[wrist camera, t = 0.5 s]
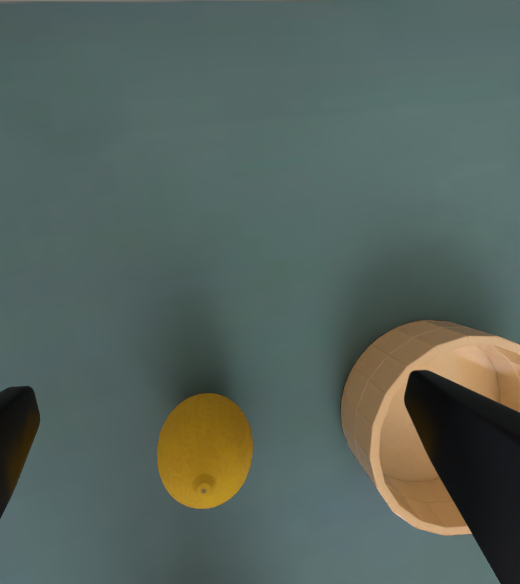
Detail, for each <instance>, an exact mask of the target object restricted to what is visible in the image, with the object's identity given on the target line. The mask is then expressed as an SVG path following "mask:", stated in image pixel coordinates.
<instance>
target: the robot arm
mask: <svg viewBox="0 0 520 584" xmlns="http://www.w3.org/2000/svg"><path fill="white" fill-rule="evenodd" d="M404 404H405V407H406V409H407V411H408V414H409V416H410V418H411V420H412V422H413V425H414V427H415V429H416V431H417V433H418V436H419V438H420V440H421V442H422V444H423V447H424V449H425V451H426V453H427V455H428V457H429V459H430V461H431V463H432V465H433V467H434V469H435V470H436V472H437V474H438V476H439V477H440V479H441V481H442V483H443V484H444V486H445V488H446V490H447V491H448V493H449V495H450V497H451V498H452V500H453V502H454V503H455V505H456V507H457V509H458V510H459V512H460V514H461V516H462V517H463V519H464V521H465V523H466V524H467V526H468V528H469V530H470V531H471V533H472V535H473V536H474V538H475V540H476V542H477V543H478V545H479V547H480V549H481V550H482V552H483V554H484V556H485V557H486V559H487V561H488V563H489V564H490V566H491V568H492V569H493V571H494V573H495V575H496V576H497V578H498V580H499V582H500V583H501V584H520V412H518V411H516V410H513V409H511V408H509V407H507V406H505V405H503V404H500V403H498V402H496V401H494V400H492V399H490V398H488V397H485V396H483V395H481V394H479V393H477V392H475V391H472V390H470V389H468V388H466V387H464V386H462V385H460V384H457V383H455V382H453V381H451V380H449V379H447V378H444V377H442V376H440V375H438V374H436V373H434V372H431V371H429V370H413V371H412V372H411V373H410V374H409V377H408V381H407V386H406V390H405V394H404ZM39 424H40V414H39V409H38V405H37V401H36V397H35V393H34V390H33V389H32V388H31V387H29V386H19V387H9V388H7V389H5V390H3V391H1V392H0V518H1V516H2V514H3V512H4V510H5V508H6V506H7V504H8V502H9V500H10V498H11V496H12V494H13V491H14V489H15V487H16V484H17V482H18V479H19V477H20V474H21V471H22V469H23V466H24V464H25V461H26V458H27V456H28V453H29V451H30V448H31V446H32V443H33V440H34V438H35V435H36V433H37V430H38V427H39Z"/></svg>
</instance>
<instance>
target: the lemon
mask: <svg viewBox="0 0 520 584" xmlns="http://www.w3.org/2000/svg"><path fill="white" fill-rule="evenodd" d="M252 453H253V439H252V433H251V428H250V425H249V423H248V421H247V419H246V416H245V414H244V413H243V412H242V410H241V409H240V408H239V407H238V405H237V404H236V403H234V402H233V401H231V400H230V399H228V398H227V397H224V396H221V395H219V394H213V393H204V394H197V395H195V396H192V397H189V398H187V399H186V400H184V401H183V402H181V403H180V404H178V405H177V406H176V408H175V409H174V410H173V411H172V412H171V413H170V414H169V416H168V417H167V419H166V421H165V423H164V425H163V427H162V429H161V432H160V436H159V441H158V445H157V461H158V470H159V474H160V477H161V480H162V482H163V485H164V487H165V488H166V489H167V491H168V492H169V494H170V495H171V496H172V497H173V498H175V499H176V500H177V501H178V502H179V503H181V504H183V505H186V506H188V507H192V508H197V509H205V508H212V507H215V506H219V505H221V504H222V503H224V502H226V501H228V500H229V499H230V498H231V497H232V496H233V495H235V494H236V493H237V492H238V490H239V489H240V488H241V486H242V485H243V483H244V482H245V480H246V477H247V474H248V472H249V469H250V466H251V461H252Z"/></svg>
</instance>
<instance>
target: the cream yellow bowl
mask: <svg viewBox="0 0 520 584" xmlns="http://www.w3.org/2000/svg"><path fill="white" fill-rule="evenodd" d="M413 370H429V371H431V372H434V373H436V374H438V375H440V376H442V377H444V378H447V379H449V380H451V381H453V382H455V383H457V384H460V385H462V386H464V387H466V388H468V389H470V390H472V391H475V392H477V393H479V394H481V395H483V396H485V397H488V398H490V399H492V400H494V401H496V402H498V403H500V404H503V405H505V406H507V407H509V408H511V409H513V410H516V411H518V412H520V344H517V343H515V342H512V341H510V340H507V339H504V338H502V337H499V336H496V335H493V334H489V333H486V332H483V331H479V330H476V329H472V328H469V327H466V326H463V325H459V324H456V323H453V322H449V321H441V320H421V321H415V322H411V323H407V324H404V325H401V326H399V327H396V328H394V329H392V330H390V331H388V332H387V333H385V334H384V335H382V336H381V337H379V338H378V339H377V340H376V341H374V342H373V343H372V344H371V345H370V346H369V347H368V348H367V349H366V350H365V351H364V352H363V354H362V355H361V356H360V357H359V359H358V360H357V362H356V363H355V365H354V366H353V368H352V370H351V372H350V374H349V376H348V379H347V381H346V384H345V387H344V391H343V395H342V403H341V421H342V428H343V432H344V435H345V439H346V441H347V443H348V446H349V449H350V450H351V452H352V453H353V455H354V456H355V457H356V459H357V460H358V462H359V463H360V465H361V466H362V468H363V469H364V471H365V472H366V474H367V475H368V477H369V478H370V480H371V481H372V482H373V484H374V485H375V487H376V488H377V490H378V491H379V493H380V494H381V496H382V497H383V498H384V500H385V501H386V503H387V504H388V506H389V507H390V509H391V510H392V512H394V513H395V514H397V515H398V516H399V517H401V518H402V519H404V520H405V521H407V522H408V523H409V524H411V525H412V526H414V527H415V528H417V529H421V530H425V531H428V532H432V533H436V534H440V535H445V536H446V535H459V534H472V533H471V531H470V530H469V528H468V526H467V524H466V523H465V521H464V519H463V517H462V516H461V514H460V512H459V510H458V509H457V507H456V505H455V503H454V502H453V500H452V498H451V497H450V495H449V493H448V491H447V490H446V488H445V486H444V484H443V483H442V481H441V479H440V477H439V476H438V474H437V472H436V470H435V469H434V467H433V465H432V463H431V461H430V459H429V457H428V455H427V453H426V451H425V449H424V447H423V444H422V442H421V440H420V438H419V436H418V433H417V431H416V429H415V427H414V425H413V422H412V420H411V418H410V416H409V414H408V411H407V409H406V407H405V404H404V394H405V390H406V386H407V381H408V377H409V374H410V373H411V372H412V371H413Z"/></svg>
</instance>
